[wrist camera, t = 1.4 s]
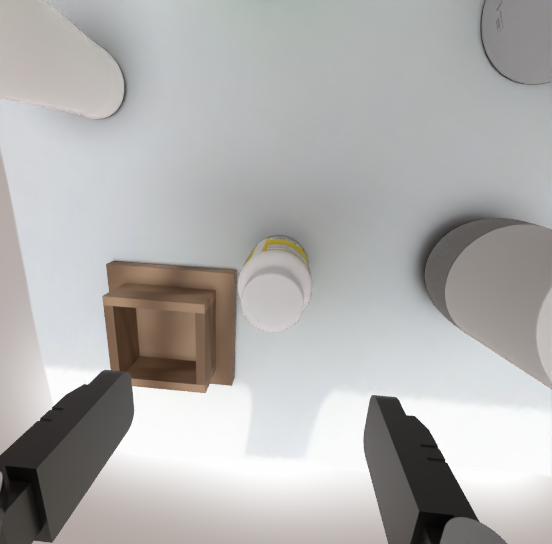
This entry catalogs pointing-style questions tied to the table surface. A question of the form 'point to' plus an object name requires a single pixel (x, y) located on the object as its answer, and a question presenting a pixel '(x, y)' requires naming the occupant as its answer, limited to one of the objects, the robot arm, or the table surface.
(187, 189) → the table surface
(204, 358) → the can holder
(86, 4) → the table surface
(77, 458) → the robot arm
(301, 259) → the supplement bottle
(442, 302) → the smart speaker
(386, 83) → the table surface
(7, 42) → the drinking glass
